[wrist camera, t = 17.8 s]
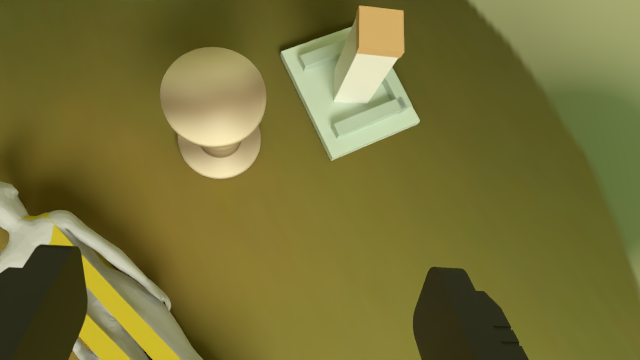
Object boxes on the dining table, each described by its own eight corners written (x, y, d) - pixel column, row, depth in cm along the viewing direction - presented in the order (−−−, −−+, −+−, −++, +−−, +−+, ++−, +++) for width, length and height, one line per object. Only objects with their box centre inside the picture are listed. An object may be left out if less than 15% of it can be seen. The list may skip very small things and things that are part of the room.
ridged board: (280, 56, 48) (282, 45, 46) (365, 26, 51) (370, 14, 49) (330, 160, 47) (335, 154, 44) (416, 124, 49) (424, 116, 47)
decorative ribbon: (207, 516, 34) (-76, 219, 35) (219, 475, 40) (-24, 221, 41) (285, 432, 35) (7, 146, 36) (286, 403, 41) (47, 158, 42)
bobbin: (166, 119, 45) (143, 66, 34) (241, 92, 47) (241, 34, 36) (197, 191, 44) (184, 159, 33) (273, 160, 46) (282, 121, 35)
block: (332, 102, 47) (359, 47, 36) (333, 68, 48) (359, 5, 37) (367, 105, 47) (404, 51, 37) (367, 72, 48) (403, 10, 38)
